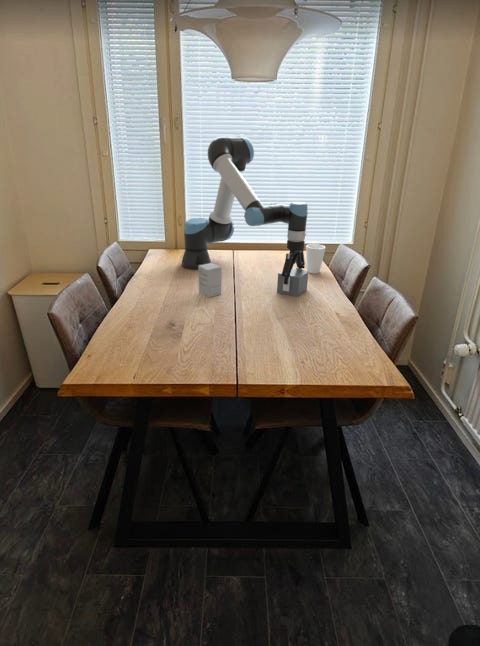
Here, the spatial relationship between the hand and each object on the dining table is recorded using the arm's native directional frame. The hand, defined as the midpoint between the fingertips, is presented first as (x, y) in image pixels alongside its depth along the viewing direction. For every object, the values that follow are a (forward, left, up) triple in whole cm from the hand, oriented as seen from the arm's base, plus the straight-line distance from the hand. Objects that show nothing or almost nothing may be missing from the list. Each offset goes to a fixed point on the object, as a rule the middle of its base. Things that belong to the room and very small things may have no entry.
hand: (292, 286), depth 197 cm
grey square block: (0, 0, -2) cm, 2 cm away
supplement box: (-29, -23, -2) cm, 37 cm away
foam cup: (-2, +32, -2) cm, 32 cm away
